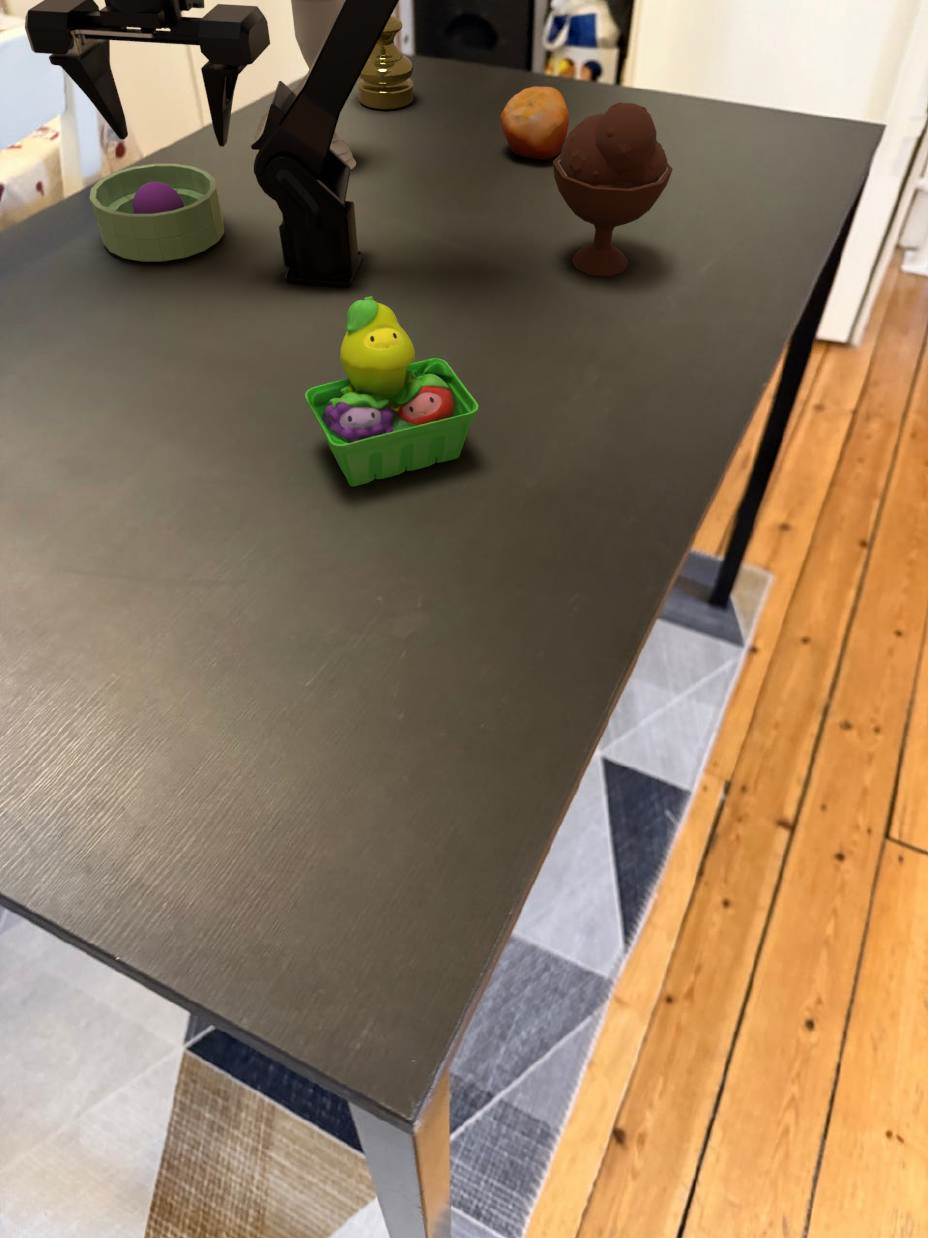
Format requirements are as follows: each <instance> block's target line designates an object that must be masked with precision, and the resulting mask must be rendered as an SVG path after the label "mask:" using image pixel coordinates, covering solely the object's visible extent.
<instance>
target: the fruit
mask: <svg viewBox="0 0 928 1238" xmlns="http://www.w3.org/2000/svg"><path fill="white" fill-rule="evenodd" d="M499 116H500V123H501V129H502V132H503V135H504V137H505V139H506V141H507V143H508V146H509V148H510V149H511V151H512V152H513V154H515V155H516V156H519V157H523V158H528V159H536V160H542V161H547V160H551V159H553V158H555V157H556V156H558V155H559V154H561V151H562V147H563V143H564V142H565V140H566V138H567V136H568V135H567V134H568V130H569V123H570V114H569V110H568V107H567V104H566V101H565V98H564V96H563V94H562V93H561V92H560V91H559V90H558V89H556V88H555V87H553V86H538V85H537V86H535V85H533V86H531V87H525V88H523V89H522V90H521V91H520V92H518V93H516V94H514V95H513V96H512V97H511V98H510V99H509V100H508V101H507V103H506V105H504V108H503V110H502V112H501V114H500V115H499Z"/></svg>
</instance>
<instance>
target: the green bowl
mask: <svg viewBox="0 0 928 1238" xmlns="http://www.w3.org/2000/svg"><path fill="white" fill-rule="evenodd" d="M149 182H162V183H164V184H167V185H169V186H170V187H172V188H173V189H174V190H175V191H176V192H177V193H178V194H179V196H180V197H181V199H182V202H183V205H184V207H182V208H179V209H176V210H173V211H167V212H160V213H154V214H134V212H133V198H134V195H135V193H136V192H137V190H138V189H139V188H140V187H141V186H142V185H144V184H146V183H149ZM89 201H90V204H91V208H92V212H93V215H94V218H95V221H96V224H97V228H98V230H99V235H100V238H101V242H102V243H103V245H104V246H105V247H106V249H107V250H108V251H109V253H112V254H114V255H116V256H118V257H120V258H122V259H125V260H126V259H127V260H130V261H131V260H132V261H138V262H168V261H173V260H180V259H185V258H188V257H191V256H195V255H198V254H199V253H202V252H205V251H206V250H208V249H209V248H211V247H212V246H214V245H216V244H217V243H219V241H220V240H221V238H222V237H223V235H224V234H225V222H224V218H223V212H222V207H221V202H220V196H219V191H218V186H217V180H216V178H214V177H213V176H212V175H211V174H210V173H209V172H208V171H207V170H204V169H201V168H199V167H196V166H193V165H187V164H182V163H181V164H180V163H149V164H142V165H135V166H131V167H127V168H124V169H121V170H118V171H114V172H112V173H110V174H108V175H106V176H105V177H103V178H101V179H99V180H98V181H97V182H96V183H95V184H94V185H93V186H92V187H91V188H90V192H89Z"/></svg>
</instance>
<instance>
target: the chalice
mask: <svg viewBox="0 0 928 1238" xmlns="http://www.w3.org/2000/svg"><path fill="white" fill-rule="evenodd" d="M341 3H342V0H290V4H291V12H292V20H293V30H294V37H295V40H296V43H297V45H298V48H299V50H300V53H301V55H302V58H303V60H304V61H305V63H306V65H307V68H308V70H309V69H310V67H311V65H312V63H313V61H314V59H315V56H316V54H317V52H318V50H319V48H320V46H321V44H322V42H323V40H324V38H325V36H326V34H327V32H328V30H329V27H330V25H331V23H332V21H333V19H334V17H335V15H336V13H337V11H338V9H339V7H340V5H341ZM330 148H331V149H332V150H333V151H334V152H335V153H336V154H337V155H338V156H339V157H340V158H341V159H342V160H343V161H345V162H346V163H347V164H348V165H349V166H350V171H352V170H353V169H354V168H355V167H356V165H357V161H356V159H355V158H354V156H353V153H352V151H351V149H350V146H349V144H348V143H347V142H346V141H345V140H343V139H340V137H339V136H338V134H337V131H336V130H335V132H334V135H333V139H332V142H331V146H330Z"/></svg>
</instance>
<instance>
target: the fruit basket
mask: <svg viewBox="0 0 928 1238" xmlns="http://www.w3.org/2000/svg"><path fill="white" fill-rule="evenodd" d="M340 345H341V346H340V364H341V366H342V369H343V371H344V373H345V375H346V376H347V378H343V379H339V380H336V381H331V382H328V383H325V384H321V385H317V386H313V387H311V388H309V389H307V390H306V391H305V394H304V398H305V401H306V403H307V405H308V407H309V410H310V412H311V413H312V414H313V416H314V418H315V419H316V422H317V423H318V426H319V428H320V430H321V432H322V434H323V436H324V438H325V440H326V443H327V445H328V447H329V449H330V451H331V453H332V454H333V456H334V458H335V460H336V462H337V464H338V467H339V468H340V470H341V471H342V474H343V475H344V476H345V478H346V480H347V483H348V485H349V486H350V487H358V486H361V485H364V484H368V483H371V482H372V481H374V480H382V479H387V478H391V477H394V476H398V475H401V474H402V473H405V472H411V471H417V470H421V469H423V468H428V467H430V466H432V465H435V464H436V463H445V462H449V461H452V460H457V459H459V458H460V456H461V452H462V449H463V447H464V443H465V441H466V438H467V436H468V432H469V430H470V427H471V424H472V421H473V420H474V419H475V417H476V415H477V413H478V410H479V403H478V402H477V400H476V399H475V398H474V397H473V396H472V394H471V393H470V392H469V390H468V389H467V388H466V386H465V385H464V384H463V382H462V381H461V380H460V378H459V377H458V375H457V374H456V372H455V371H454V370H453V369H452V367H451V365H449V363H448V362H447V361H446V360H445V359H442V358H437V357H432V358H428V359H424V360H420V361H415V360H416V351H415V347H414V344H413V342H412V340H411V338H410V336H409V334H407V332H406V331H405V330H404V328H403V327H402V326H401V325H400V323H399V321H398V319H397V317H396V314H395V312H394V311H393V310H392V309H391V308H390V307H389V306H387V305H385V304H383V303H381V302H377V301H376V300H375V299H374V297H373V296H371V295H370V296H366V297H364V298H363V299H359V300H356V301H354V302H353V303H351V305H350V306H349V308H348V311H347V316H346V333H345V335H344V337H343V339H342V342H341V344H340ZM414 361H415V362H414Z"/></svg>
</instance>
